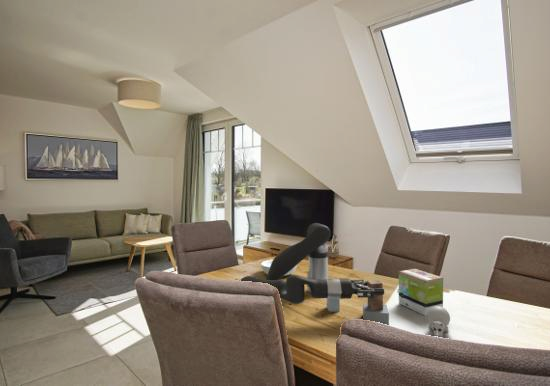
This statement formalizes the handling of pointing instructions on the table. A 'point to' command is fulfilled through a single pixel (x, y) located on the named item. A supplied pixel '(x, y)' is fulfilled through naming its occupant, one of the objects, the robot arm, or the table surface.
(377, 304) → the walnut block
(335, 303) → the bluegrey block
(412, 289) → the tea box
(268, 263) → the serving bowl
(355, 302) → the table surface
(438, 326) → the round bodied animal figurine
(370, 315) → the grey block
